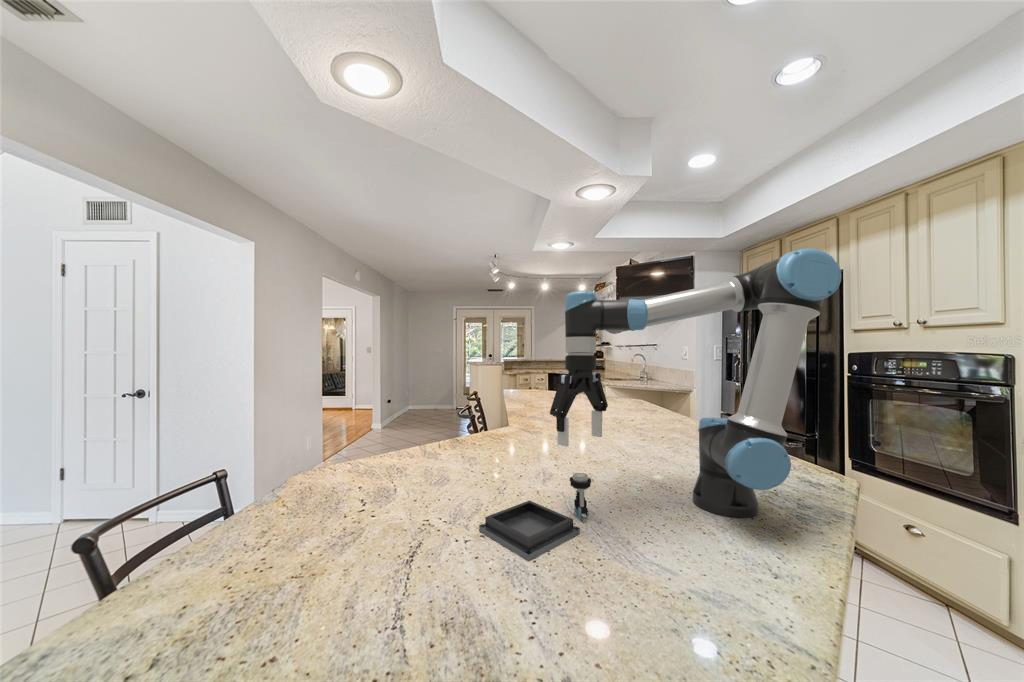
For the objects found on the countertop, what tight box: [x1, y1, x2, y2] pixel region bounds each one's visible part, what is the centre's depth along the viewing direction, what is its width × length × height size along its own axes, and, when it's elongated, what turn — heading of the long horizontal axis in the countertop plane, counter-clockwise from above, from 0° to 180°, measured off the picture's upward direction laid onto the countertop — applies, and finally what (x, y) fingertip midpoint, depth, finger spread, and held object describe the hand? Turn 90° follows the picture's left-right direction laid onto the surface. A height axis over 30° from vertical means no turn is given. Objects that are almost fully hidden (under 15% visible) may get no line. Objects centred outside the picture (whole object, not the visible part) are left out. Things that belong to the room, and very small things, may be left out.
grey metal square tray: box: [478, 500, 581, 562], centre depth 83 cm, size 16×16×3 cm
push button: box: [569, 472, 592, 522], centre depth 91 cm, size 7×5×10 cm
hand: (580, 440), depth 91 cm, fingers open, 13 cm apart
